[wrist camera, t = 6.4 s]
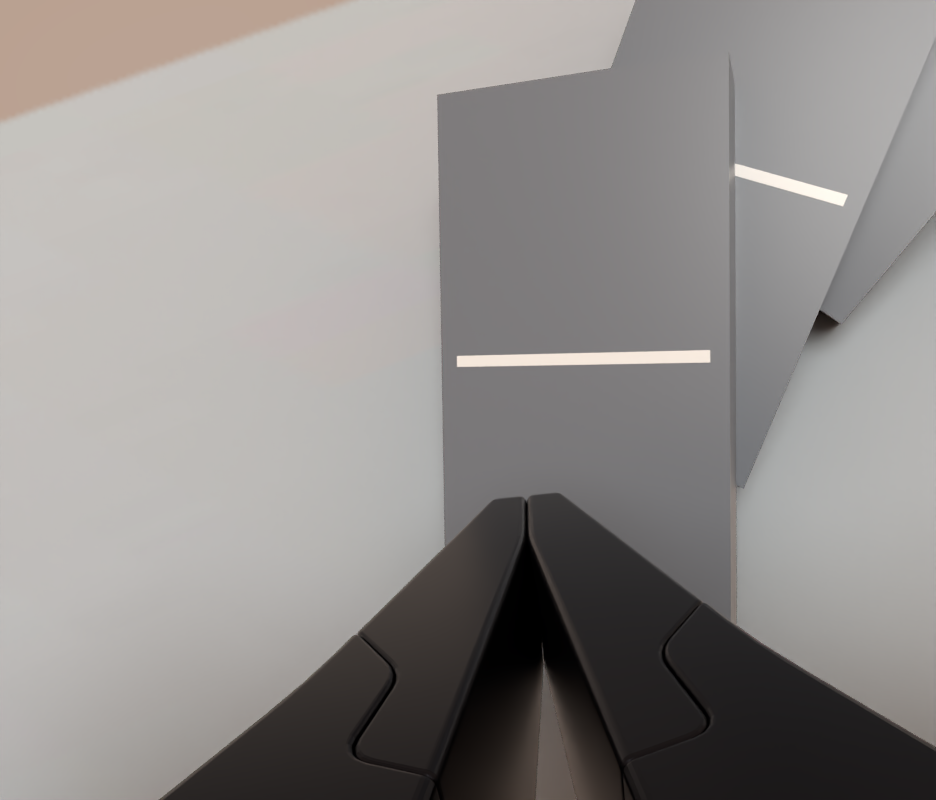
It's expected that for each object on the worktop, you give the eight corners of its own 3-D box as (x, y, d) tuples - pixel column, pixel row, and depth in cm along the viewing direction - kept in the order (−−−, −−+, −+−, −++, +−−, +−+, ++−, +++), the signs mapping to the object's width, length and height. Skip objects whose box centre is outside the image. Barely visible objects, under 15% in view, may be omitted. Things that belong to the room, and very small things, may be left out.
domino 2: (743, 488, 14) (989, -90, 13) (496, 386, 16) (685, -139, 14) (747, 476, 16) (968, -43, 14) (520, 384, 18) (694, -91, 16)
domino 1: (730, 678, 13) (728, 50, 13) (446, 644, 15) (436, 94, 15) (736, 645, 15) (734, 82, 14) (477, 618, 16) (470, 120, 16)
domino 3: (841, 323, 16) (1285, -205, 12) (633, 182, 17) (988, -326, 14) (839, 324, 17) (1236, -149, 14) (649, 193, 18) (972, -264, 15)
